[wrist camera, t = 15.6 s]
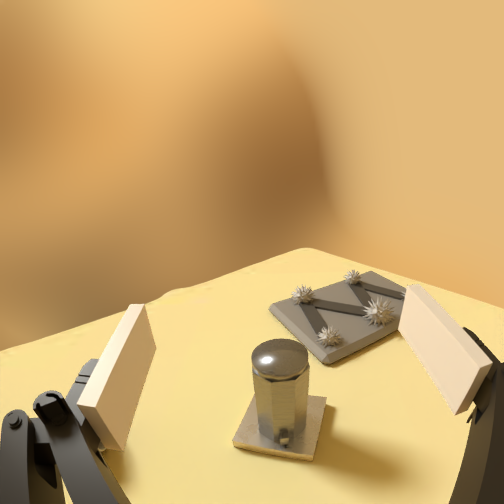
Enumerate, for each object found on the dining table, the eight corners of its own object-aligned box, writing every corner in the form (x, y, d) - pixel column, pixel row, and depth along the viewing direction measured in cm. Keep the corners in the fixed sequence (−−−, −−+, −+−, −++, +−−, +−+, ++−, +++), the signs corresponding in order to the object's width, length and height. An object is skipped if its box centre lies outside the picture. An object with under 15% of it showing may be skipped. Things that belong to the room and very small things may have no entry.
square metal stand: (233, 446, 32) (222, 397, 29) (258, 394, 41) (253, 342, 38) (312, 461, 29) (318, 414, 26) (325, 404, 38) (331, 351, 34)
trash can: (257, 404, 37) (250, 336, 33) (300, 400, 37) (301, 331, 33) (260, 448, 30) (252, 383, 26) (308, 443, 30) (314, 377, 26)
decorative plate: (370, 277, 74) (372, 251, 72) (434, 312, 56) (440, 282, 53) (266, 312, 64) (264, 282, 61) (324, 371, 45) (327, 336, 43)
